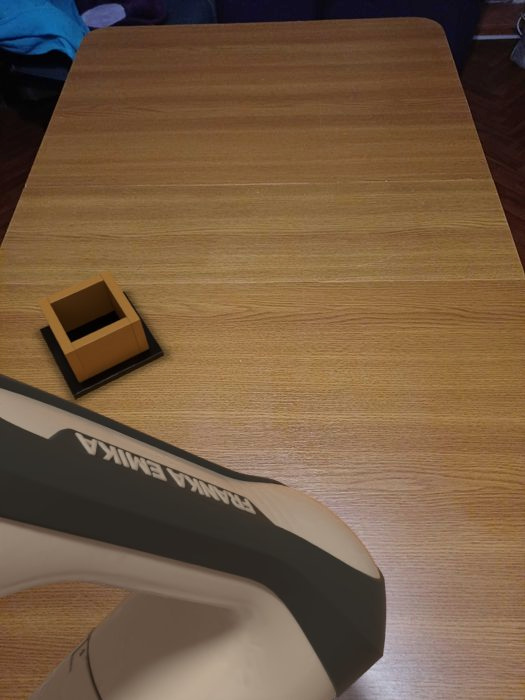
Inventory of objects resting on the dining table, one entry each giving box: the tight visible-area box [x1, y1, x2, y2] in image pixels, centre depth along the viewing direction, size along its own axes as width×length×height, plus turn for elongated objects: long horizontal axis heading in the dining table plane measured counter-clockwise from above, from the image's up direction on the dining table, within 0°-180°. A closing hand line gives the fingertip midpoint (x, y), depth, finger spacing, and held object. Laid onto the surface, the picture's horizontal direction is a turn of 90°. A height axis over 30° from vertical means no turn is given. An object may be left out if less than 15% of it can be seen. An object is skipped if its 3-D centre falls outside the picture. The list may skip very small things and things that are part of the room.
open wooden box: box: [36, 270, 165, 400], centre depth 76 cm, size 12×12×7 cm
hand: (211, 598), depth 51 cm, fingers open, 8 cm apart
